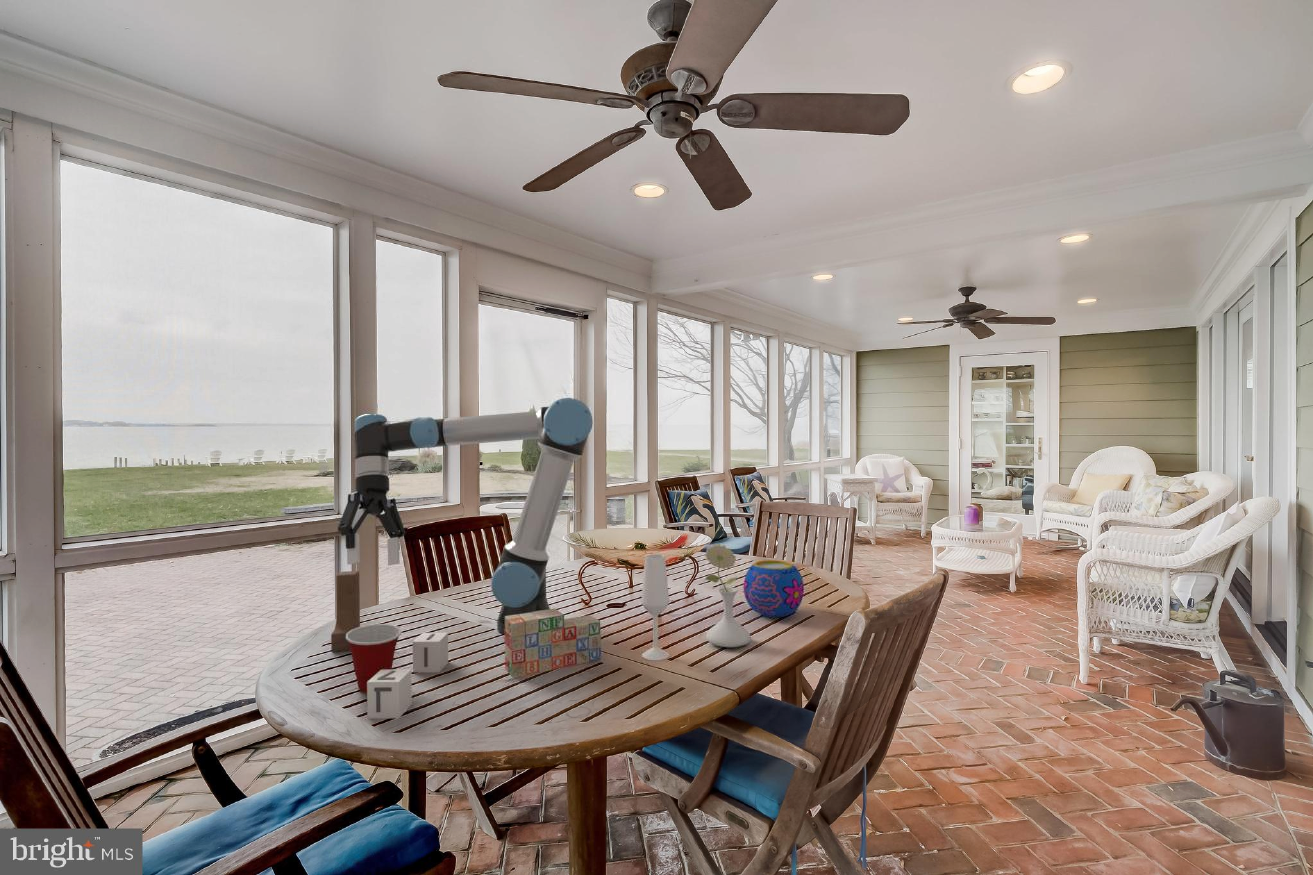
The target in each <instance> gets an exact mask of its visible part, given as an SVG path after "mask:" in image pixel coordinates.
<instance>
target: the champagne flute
mask: <svg viewBox="0 0 1313 875" xmlns="http://www.w3.org/2000/svg"><path fill="white" fill-rule="evenodd" d="M666 565H667V564H666V556H665V554H659V553H655V554H654V553H652V554H650V553H649V554H647V555H645V556H644V567H643V579H642V590H641V591H642V592H641V605H642V606H643V608H644V609H645V610H646V611H647V612H648V613H649V614H650V615H652V647H651V648H649V649H648V650H646V651H645V652H642V655H641V657H642V658H643V659H645V660H649V661H662V660H666V659H668V658H669V657H670V653H669V652H668V651H665V650H664V649H662V648H661V647H659V615H661V614H662V613H663V612H664V611H665V610H666V609H667V608H668V605H669V604H670V595H669V587H668V576H667V566H666Z"/></svg>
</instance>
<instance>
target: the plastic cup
mask: <svg viewBox="0 0 1313 875" xmlns="http://www.w3.org/2000/svg"><path fill="white" fill-rule="evenodd" d="M401 634H402V628H400V627H399V626H397V625H393V624H389V623H387V624H386V623H385V624H384V623H376V624H375V623H374V624H367V625H363V626H360V627H358V628H355V629H353V630H351V631H349V632H348V633H347V634H346V640H347V641H348V643H349V646H350V650H349V651H350V654H351V659H352V665H353V670H354V675H355V677H356V678H355V679H356V681H357V682H356V683H357V688H358V690H359V691H360V692H361V693H367V682H368V681H369V680H370V679H371V678H372V677H373V676H375V675H376V674H377V673H378V672H379V671H380V670H392V669H393V665H394V664H393V663H394V658H395V653H396V652H395V651H396V646H397V644H398V641H399V638H400V636H401Z"/></svg>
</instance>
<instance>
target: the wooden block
mask: <svg viewBox="0 0 1313 875" xmlns="http://www.w3.org/2000/svg"><path fill="white" fill-rule="evenodd" d="M335 581H336V582H335V583H336V584H335V585H336V586H335V587H336V593H335V594H336V619H335V620H336V622H335V625H334V629H333V631H332V633H331V636H330V640H331V641H330V642H331V643H330V645H331V648H330V650H331V652H342V651H343V652H345V651H350V646H349V643H348V641H347V640H346V634H347V633H348V632H349V631H351V630H353V629H355V628H358V627H361V609H360V608H361V607H360V605H361V603H360V601H361V600H360V599H361V598H360V571H359V570H349V571H347V570H346V571H340V573H338V574H336V579H335Z"/></svg>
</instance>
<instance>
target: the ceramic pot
mask: <svg viewBox="0 0 1313 875" xmlns="http://www.w3.org/2000/svg"><path fill="white" fill-rule="evenodd" d="M742 589H743V594H744V598H745V600H746V602H747V604H748V605H749V607H750V608H751V609H752V610H753V611H754V612H756V613H757V614H760V615H762V616H764V617H768V618H781V617H782V618H783V617H787V616H789V615H791V614H793V613H794V612H797V610H798V609H799V607H800V605H801V604H802V601H803V598H804V592H805V584H804V579H803V576H802V573H800V571H799V569H798V567H796V566H795V565H794V564H793V563H791V562H789V561H783V560H777V559H775V560H772V559H771V560H760V561H756V562H754V563H753V564H751V565H750V566H749V567H748V569H747V571H746V573H745V576H744V581H743V587H742Z"/></svg>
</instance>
